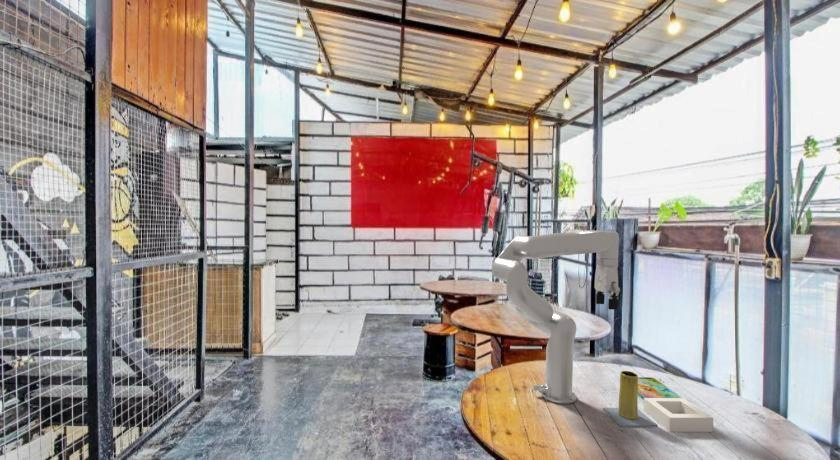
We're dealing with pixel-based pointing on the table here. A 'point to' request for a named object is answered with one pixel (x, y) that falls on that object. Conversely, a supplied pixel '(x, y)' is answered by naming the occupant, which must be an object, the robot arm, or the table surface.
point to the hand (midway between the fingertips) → (606, 306)
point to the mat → (623, 422)
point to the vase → (628, 395)
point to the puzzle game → (654, 389)
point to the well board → (678, 415)
